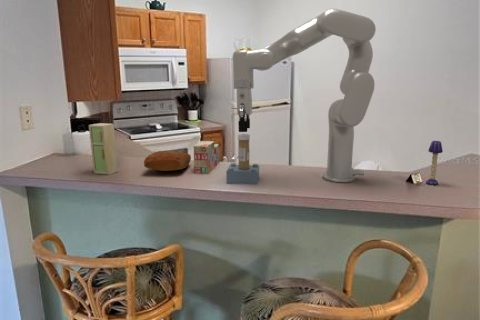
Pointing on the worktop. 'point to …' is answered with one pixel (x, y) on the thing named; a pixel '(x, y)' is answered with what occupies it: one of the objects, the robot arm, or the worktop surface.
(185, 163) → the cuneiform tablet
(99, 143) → the toy refrigerator
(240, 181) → the base brick
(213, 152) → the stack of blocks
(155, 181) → the worktop surface
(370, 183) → the worktop surface
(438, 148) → the toy lamp
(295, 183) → the worktop surface
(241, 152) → the sprinkles bottle
